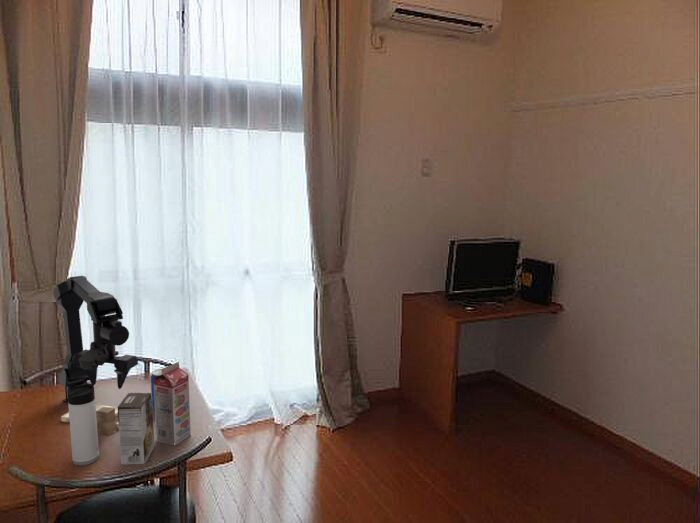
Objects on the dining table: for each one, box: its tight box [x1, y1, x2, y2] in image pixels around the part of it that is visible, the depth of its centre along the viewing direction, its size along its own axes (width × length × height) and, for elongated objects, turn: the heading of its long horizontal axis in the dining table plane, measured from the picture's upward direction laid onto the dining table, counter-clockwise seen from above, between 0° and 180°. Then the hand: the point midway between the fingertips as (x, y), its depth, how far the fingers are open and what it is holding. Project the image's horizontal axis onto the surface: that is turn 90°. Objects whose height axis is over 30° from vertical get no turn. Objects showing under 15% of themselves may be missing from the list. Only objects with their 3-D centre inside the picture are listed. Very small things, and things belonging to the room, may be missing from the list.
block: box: [96, 407, 118, 436], centre depth 157 cm, size 4×12×7 cm, turn 167°
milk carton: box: [153, 361, 192, 447], centre depth 149 cm, size 7×7×22 cm
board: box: [60, 404, 119, 430], centre depth 162 cm, size 22×10×2 cm, turn 77°
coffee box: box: [116, 392, 155, 465], centre depth 140 cm, size 9×6×16 cm
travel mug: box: [67, 382, 100, 466], centre depth 137 cm, size 6×7×20 cm
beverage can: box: [150, 368, 162, 409], centre depth 170 cm, size 6×6×12 cm
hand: (106, 386), depth 158 cm, fingers open, 9 cm apart
